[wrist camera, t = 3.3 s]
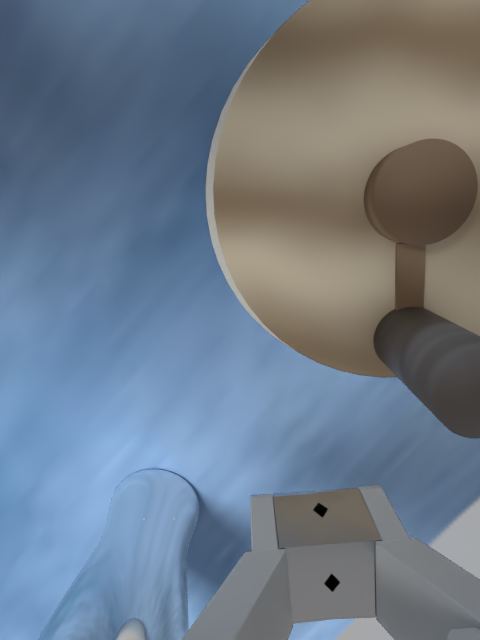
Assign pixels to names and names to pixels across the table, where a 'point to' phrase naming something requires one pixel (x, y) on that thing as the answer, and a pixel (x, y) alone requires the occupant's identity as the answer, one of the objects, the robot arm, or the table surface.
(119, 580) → the beer glass
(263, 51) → the tan disc with handle
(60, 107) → the table surface
